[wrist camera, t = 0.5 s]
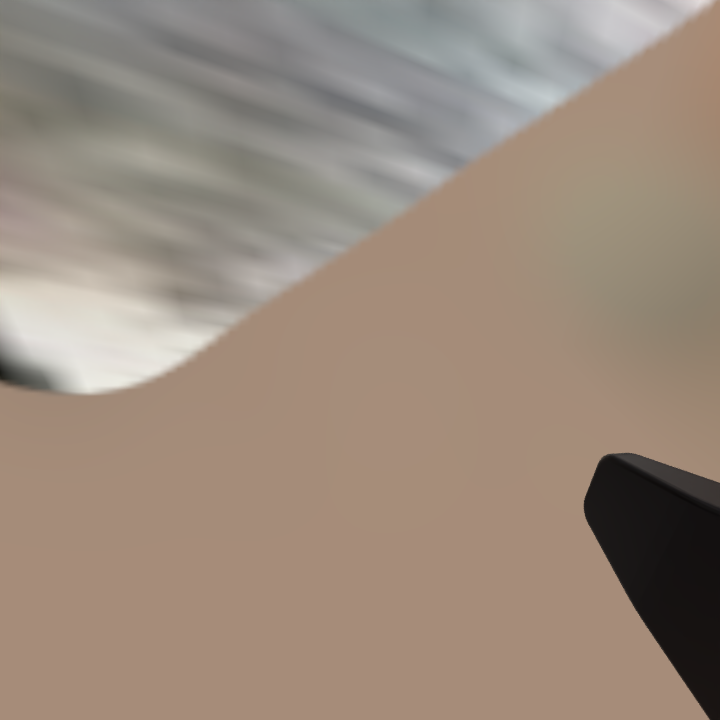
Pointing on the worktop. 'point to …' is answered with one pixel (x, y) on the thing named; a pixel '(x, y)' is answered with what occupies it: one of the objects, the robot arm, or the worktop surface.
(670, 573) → the robot arm
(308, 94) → the worktop surface
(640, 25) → the worktop surface
